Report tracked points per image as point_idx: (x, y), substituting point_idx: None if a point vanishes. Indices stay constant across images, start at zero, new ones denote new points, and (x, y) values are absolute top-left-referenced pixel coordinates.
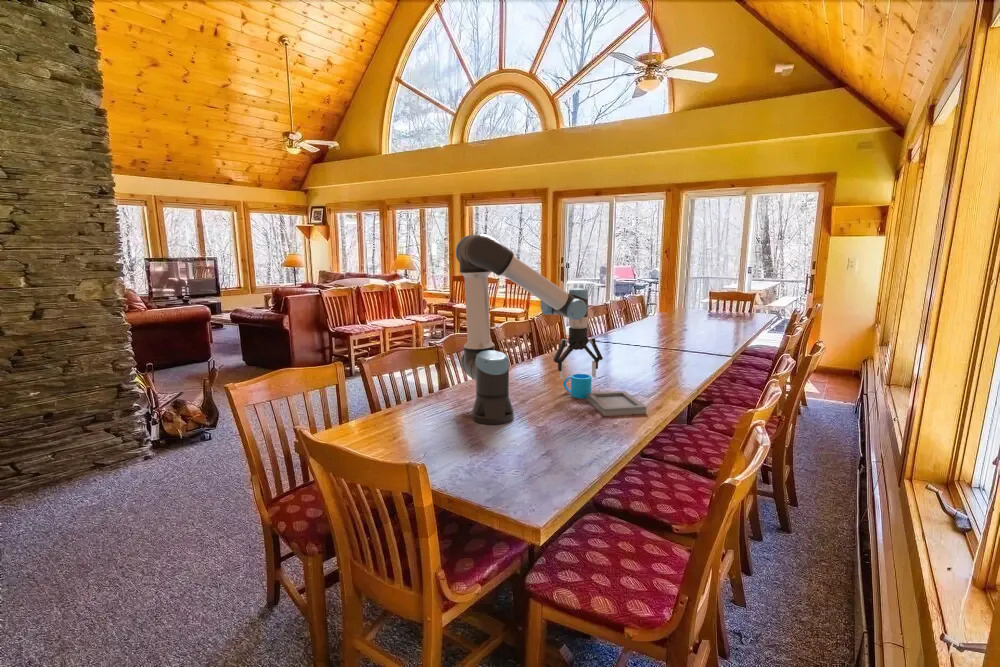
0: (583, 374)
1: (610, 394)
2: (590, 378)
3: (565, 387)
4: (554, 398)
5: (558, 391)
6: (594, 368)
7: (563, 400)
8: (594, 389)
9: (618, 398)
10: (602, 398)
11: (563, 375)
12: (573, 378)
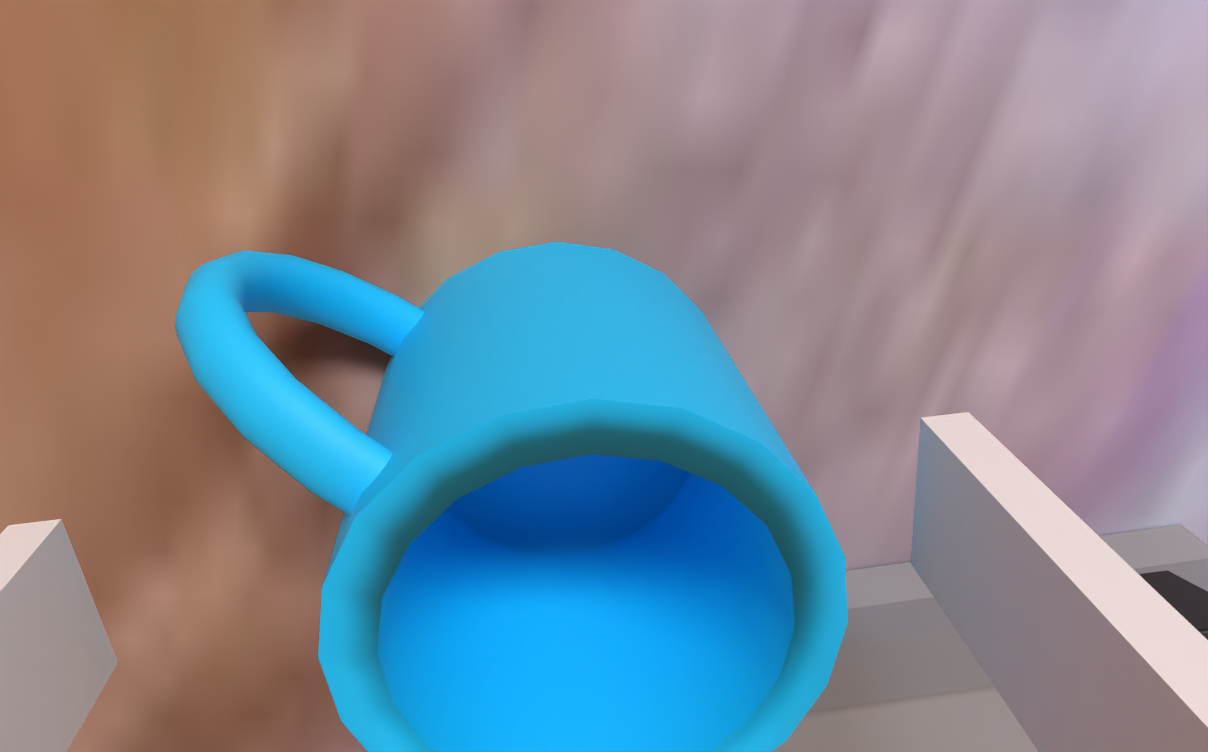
0: (698, 467)
1: (973, 675)
2: (774, 733)
3: (257, 310)
4: (76, 555)
5: (142, 143)
6: (1045, 741)
7: (232, 641)
8: (920, 45)
9: (1022, 734)
10: (806, 739)
11: (64, 748)
12: (364, 731)
